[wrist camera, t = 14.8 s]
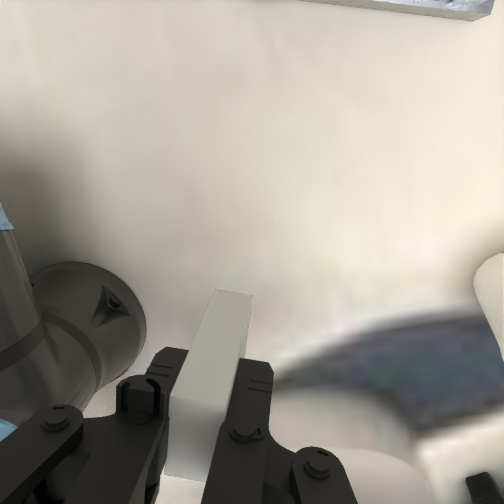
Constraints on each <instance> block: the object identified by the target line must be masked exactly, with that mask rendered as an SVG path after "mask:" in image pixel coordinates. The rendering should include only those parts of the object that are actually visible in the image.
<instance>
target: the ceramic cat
mask: <svg viewBox="0 0 504 504" xmlns="http://www.w3.org/2000/svg"><path fill="white" fill-rule="evenodd" d="M466 482H467V486H468V489H469V492H470V495H471V498H472V503H473V504H504V496H503V494H502V492H501V491H500V489H499V487H498V486H497V484H496V483H495V481H494V479H493V478H492V477H491V476H490V474H488V473H487V472H485V473H481V474H479V475H476V476H474V477H470V478H466Z"/></svg>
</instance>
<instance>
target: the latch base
mask: <svg viewBox="0 0 504 504" xmlns="http://www.w3.org/2000/svg"><path fill="white" fill-rule="evenodd" d="M301 1H309V2H318V3H326V4H334V5H343V6H351V7H359V8H368V9H376V10H384V11H393V12H401V13H409V14H418V15H426V16H434V17H443V18H451V19H459V20H468V21H474V20H477V19H480V18H482V17H485V16H488V15H490V14H491V11H492V7H493V4H494V0H301Z"/></svg>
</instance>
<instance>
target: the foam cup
mask: <svg viewBox="0 0 504 504" xmlns="http://www.w3.org/2000/svg"><path fill="white" fill-rule="evenodd" d="M473 286H474V290H475V294H476V296H477V299H478V301H479V303H480V305H481V308H482V310H483V312H484V314H485V316H486V318H487V320H488V323H489V325H490V327H491V329H492V331H493V333H494V335H495V337H496V340H497V342H498V344H499V346H500V350H501V354H502V358H503V360H504V253H498V254H496V255H494V256H492V257H490V258H488V259H486V260H485V261H484V262H483V263H482V264H481V265H480V267H479V268H478V269H477V270H476V273H475V276H474V280H473Z"/></svg>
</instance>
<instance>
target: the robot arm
mask: <svg viewBox="0 0 504 504" xmlns="http://www.w3.org/2000/svg"><path fill="white" fill-rule="evenodd" d="M12 230H14V227H13V225H12V224H11V223H9V221H8V219H7V217H6V214H5V212H4V210H3V208H2V205H1V203H0V504H155V501H156V498H157V495H158V492H159V486H160V475H161V473H162V470H163V467H164V464H165V472H164V475H169V476H175V477H180V478H186V479H191V480H197V481H202V482H206V485H205V489H204V493H203V497H202V501H201V504H358V503H357V500H356V498H355V496H354V493H353V490H352V488H351V485H350V482H349V480H348V478H347V475H346V472H345V470H344V467H343V465H342V464H341V462H340V460H339V459H338V458H337V457H336V456H335V455H334V454H332V453H331V452H329V451H327V450H325V449H323V448H319V447H312V446H311V447H305V448H302V449H300V450H299V451H297V452H296V453H294V452H292V451H290V450H287V449H286V448H284V447H282V446H280V445H279V444H278V443H277V442H276V441H275V440H274V439H273V437H272V436H271V434H270V432H269V425H268V424H269V415H270V405H271V395H272V386H273V376H274V372H273V370H272V368H271V366H270V364H269V363H268V362H262V361H256V360H250V359H244V356H245V349H246V342H247V335H248V327H249V320H250V313H251V305H252V298H253V295H248V294H241V293H235V292H229V291H222V290H216V289H215V292H214V294H213V296H212V299H211V301H210V303H209V306H208V308H207V310H206V313H205V315H204V317H203V320H202V322H201V324H200V327H199V329H198V331H197V334H196V336H195V338H194V341H193V343H192V345H191V348H190V350H184V349H178V348H172V347H165V348H164V349H162V350H161V351H159V352H158V353H157V354H156V355H155V356H154V358H153V360H152V362H151V364H150V366H149V367H148V369H147V371H146V374H145V375H134V376H130V377H128V378H126V379H123V380H122V381H121V382H120V383H119V384H118V385H117V386H116V412H115V413H114V414H112V415H109V416H105V417H97V418H83V414H82V412H83V411H84V409H85V408H86V406H87V405H88V403H89V402H90V400H91V398H92V397H93V395H94V394H95V392H97V391H98V390H100V389H101V388H102V387H104V386H105V385H107V384H108V383H110V382H112V381H114V380H116V379H117V378H119V377H120V376H122V375H123V374H124V373H125V372H126V371H127V370H128V369H129V368H130V367H131V366H132V365H133V363H134V362H135V360H136V358H137V357H138V355H139V354H140V352H141V350H142V348H143V345H144V342H145V337H146V322H145V317H144V313H143V310H142V308H141V306H140V304H139V302H138V300H137V298H136V297H135V295H134V294H133V292H132V291H131V290H130V289H129V288H128V287H127V286H126V285H125V284H124V283H123V282H122V281H121V280H120V279H118V278H117V277H116V276H114V275H113V274H111V273H109V272H108V271H106V270H104V269H102V268H99V267H96V266H93V265H90V264H85V263H78V262H68V263H61V264H57V265H53V266H51V267H49V268H47V269H45V270H43V271H42V272H40V273H39V274H37V275H36V276H35V277H33V278H32V279H31V280H30V279H29V277H28V274H27V271H26V269H25V266H24V263H23V260H22V257H21V254H20V251H19V248H18V245H17V242H16V239H15V237H14V234H13V231H12Z"/></svg>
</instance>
